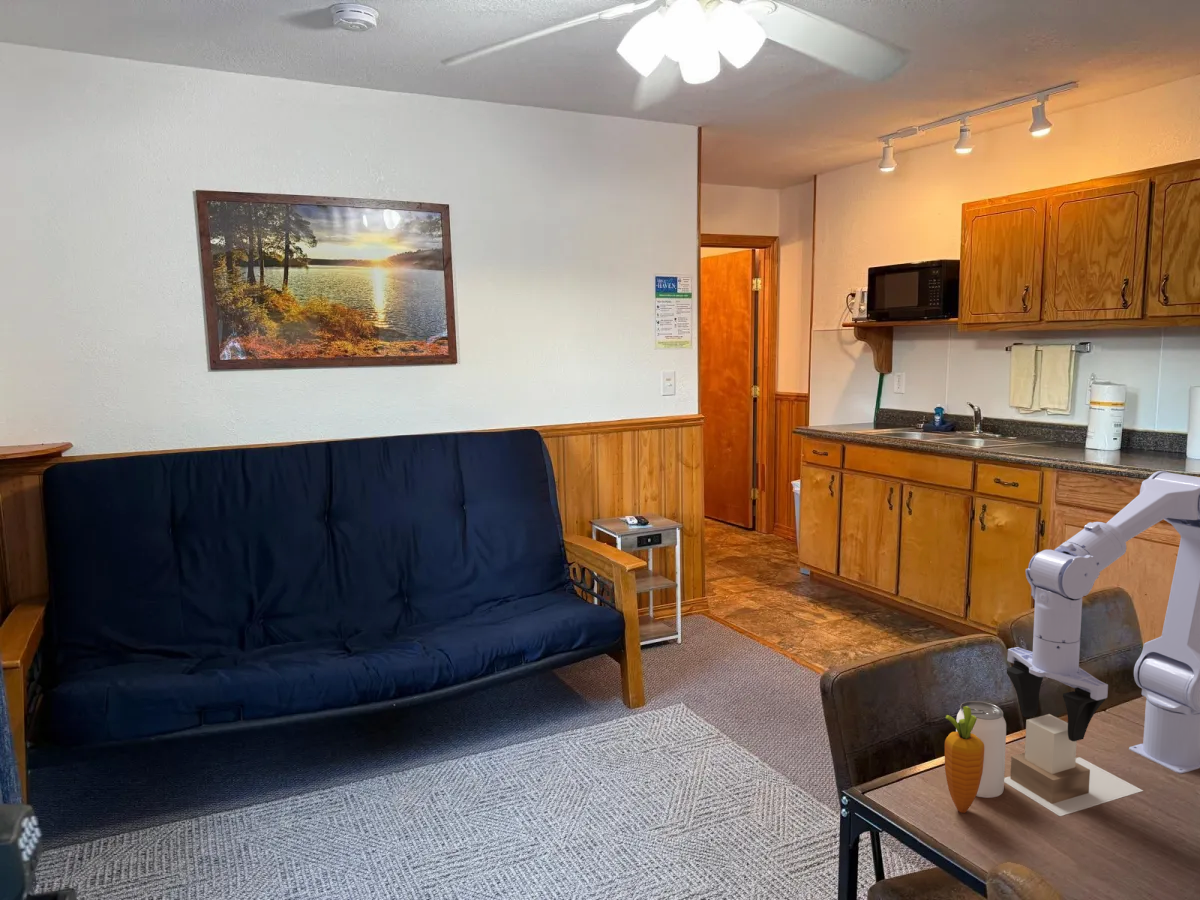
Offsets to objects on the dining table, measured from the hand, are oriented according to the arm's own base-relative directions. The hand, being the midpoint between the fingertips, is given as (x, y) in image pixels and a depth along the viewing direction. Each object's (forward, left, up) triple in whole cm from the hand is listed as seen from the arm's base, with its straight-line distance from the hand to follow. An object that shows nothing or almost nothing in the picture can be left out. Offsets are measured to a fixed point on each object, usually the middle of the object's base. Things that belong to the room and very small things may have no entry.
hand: (1052, 726), depth 114 cm
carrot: (+16, 0, -10) cm, 19 cm away
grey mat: (-3, +1, -9) cm, 10 cm away
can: (+9, -4, -10) cm, 14 cm away
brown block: (0, 0, -9) cm, 9 cm away
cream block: (0, 0, -6) cm, 6 cm away
